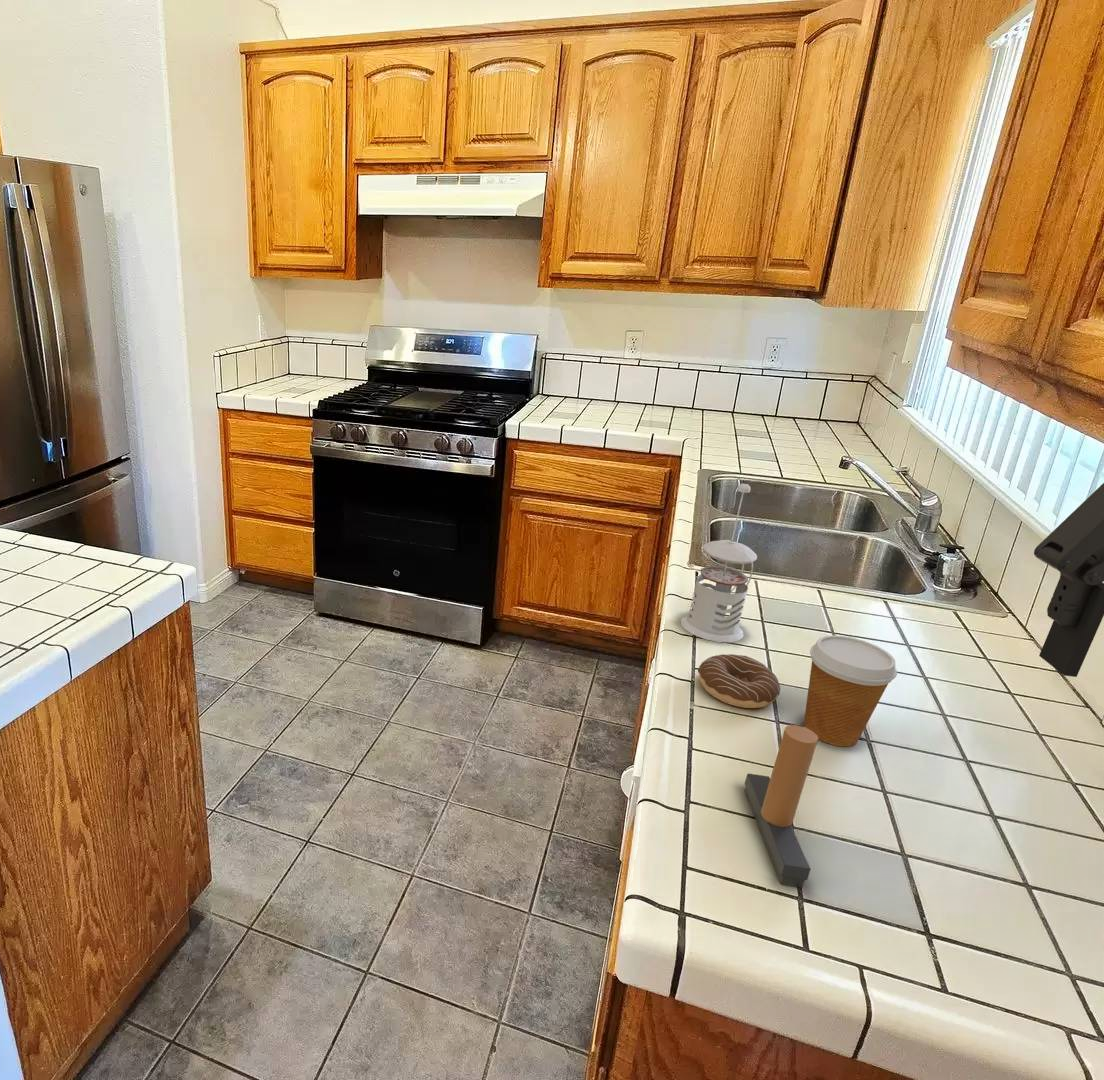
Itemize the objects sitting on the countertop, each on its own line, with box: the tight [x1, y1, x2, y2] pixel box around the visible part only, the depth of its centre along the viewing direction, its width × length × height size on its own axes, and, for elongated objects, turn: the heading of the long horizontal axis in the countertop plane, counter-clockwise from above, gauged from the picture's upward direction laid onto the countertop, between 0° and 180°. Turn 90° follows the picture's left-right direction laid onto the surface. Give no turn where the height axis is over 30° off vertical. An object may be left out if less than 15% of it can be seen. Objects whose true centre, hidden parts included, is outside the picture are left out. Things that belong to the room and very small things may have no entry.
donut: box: [697, 653, 781, 709], centre depth 106 cm, size 11×11×4 cm
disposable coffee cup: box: [803, 634, 898, 747], centre depth 96 cm, size 10×10×12 cm
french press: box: [680, 483, 758, 643], centre depth 121 cm, size 10×12×25 cm
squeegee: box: [744, 724, 819, 889], centre depth 78 cm, size 3×14×13 cm, turn 170°
